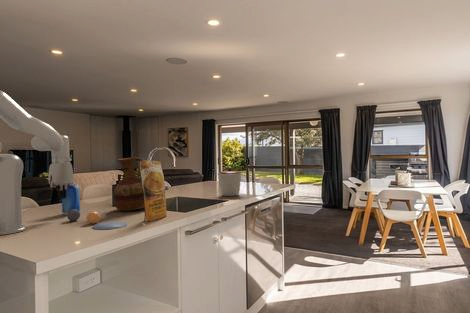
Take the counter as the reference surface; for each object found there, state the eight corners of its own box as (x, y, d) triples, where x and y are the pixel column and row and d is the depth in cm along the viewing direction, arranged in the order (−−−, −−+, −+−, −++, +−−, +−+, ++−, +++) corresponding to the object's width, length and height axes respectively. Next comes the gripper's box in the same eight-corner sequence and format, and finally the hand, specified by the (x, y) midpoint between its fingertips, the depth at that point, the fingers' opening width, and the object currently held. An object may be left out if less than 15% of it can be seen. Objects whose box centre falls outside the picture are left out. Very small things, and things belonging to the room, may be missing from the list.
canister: (246, 194, 225) (246, 166, 225) (233, 197, 210) (233, 167, 210) (226, 193, 235) (226, 166, 235) (213, 196, 219) (212, 167, 219)
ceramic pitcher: (107, 210, 168) (107, 157, 168) (140, 205, 183) (139, 156, 183) (124, 214, 155) (123, 156, 155) (158, 208, 170) (157, 156, 170)
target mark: (116, 230, 121) (116, 229, 121) (84, 229, 123) (84, 229, 123) (133, 222, 135) (133, 222, 135) (104, 222, 137) (104, 221, 137)
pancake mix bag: (135, 222, 136) (134, 160, 136) (160, 214, 153) (159, 159, 153) (147, 223, 133) (145, 160, 133) (171, 215, 151) (170, 159, 151)
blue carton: (83, 212, 163) (82, 182, 163) (73, 215, 155) (73, 184, 155) (69, 212, 164) (68, 183, 164) (58, 215, 156) (57, 184, 156)
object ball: (95, 225, 131) (95, 212, 131) (83, 224, 132) (83, 212, 132) (102, 222, 136) (102, 210, 136) (91, 222, 137) (91, 210, 137)
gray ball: (75, 222, 138) (75, 210, 138) (64, 222, 138) (64, 210, 138) (82, 219, 143) (82, 208, 143) (72, 219, 144) (72, 208, 144)
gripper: (70, 160, 154) (72, 195, 154) (40, 161, 141) (42, 200, 141) (80, 160, 150) (81, 196, 151) (49, 161, 137) (51, 201, 138)
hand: (62, 198), depth 146 cm, fingers closed
